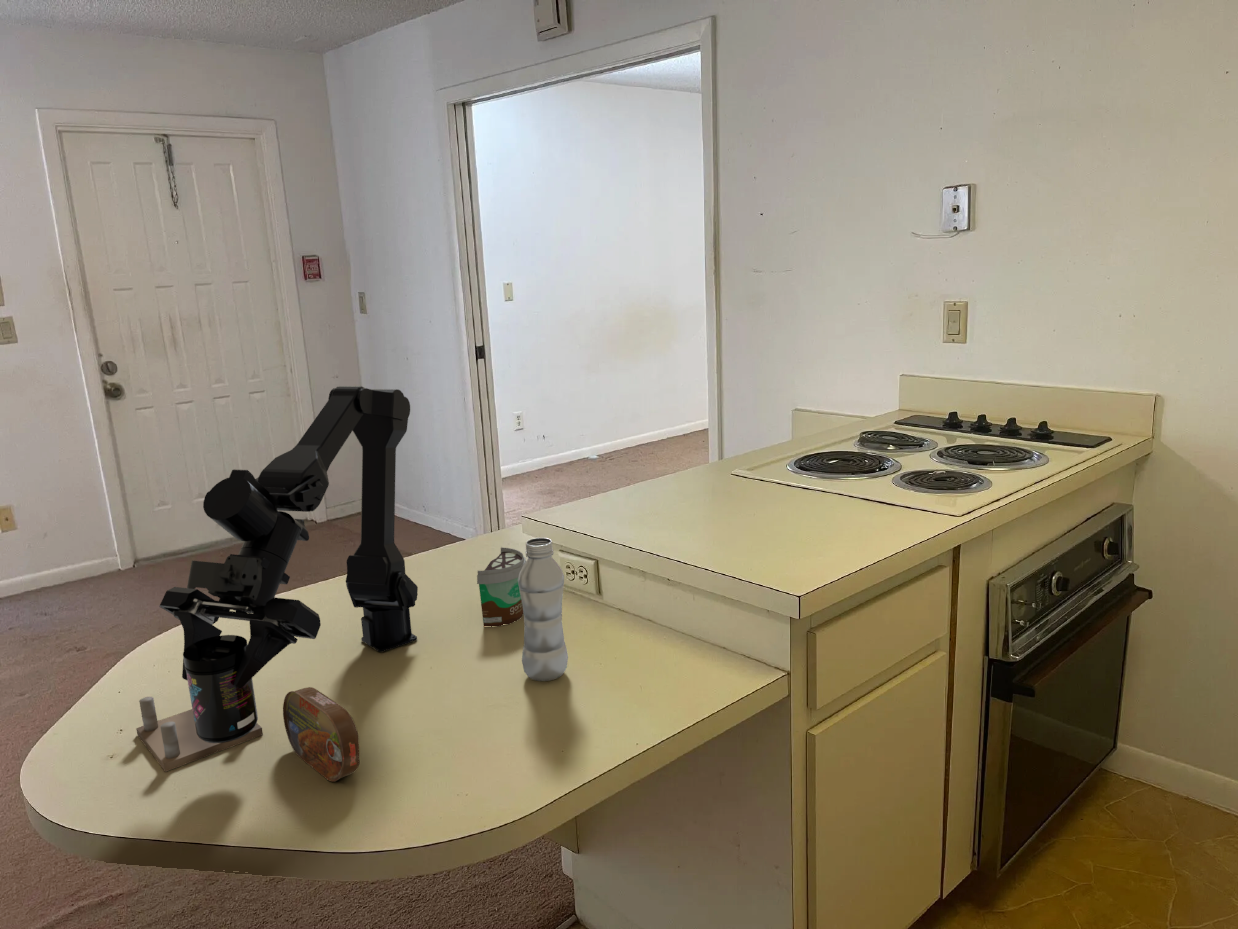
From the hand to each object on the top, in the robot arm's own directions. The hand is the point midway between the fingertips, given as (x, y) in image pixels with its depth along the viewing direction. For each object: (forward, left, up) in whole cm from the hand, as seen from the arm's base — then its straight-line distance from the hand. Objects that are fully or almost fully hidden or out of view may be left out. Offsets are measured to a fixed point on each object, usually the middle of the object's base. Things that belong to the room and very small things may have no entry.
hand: (211, 683), depth 101 cm
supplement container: (-1, -1, -7) cm, 7 cm away
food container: (-51, -15, -12) cm, 55 cm away
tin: (-10, +5, -13) cm, 17 cm away
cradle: (-1, -13, -12) cm, 18 cm away
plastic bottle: (-42, +6, -12) cm, 44 cm away
